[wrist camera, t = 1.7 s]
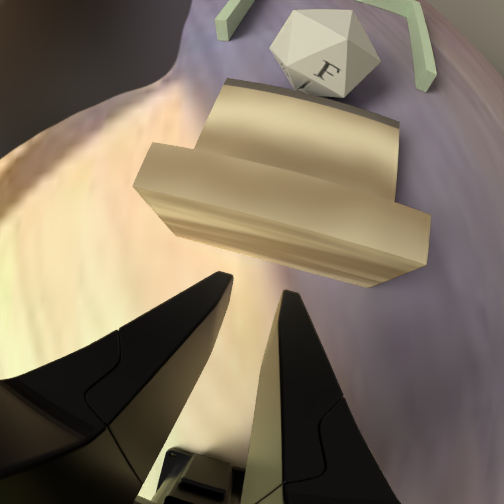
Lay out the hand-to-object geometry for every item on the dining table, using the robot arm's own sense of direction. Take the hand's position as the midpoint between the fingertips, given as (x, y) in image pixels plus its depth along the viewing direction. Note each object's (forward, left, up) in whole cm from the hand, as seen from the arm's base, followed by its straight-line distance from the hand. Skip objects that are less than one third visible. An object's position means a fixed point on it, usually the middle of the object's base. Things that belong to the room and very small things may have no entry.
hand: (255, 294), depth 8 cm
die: (+21, 0, -13) cm, 25 cm away
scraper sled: (+10, 0, -13) cm, 16 cm away
